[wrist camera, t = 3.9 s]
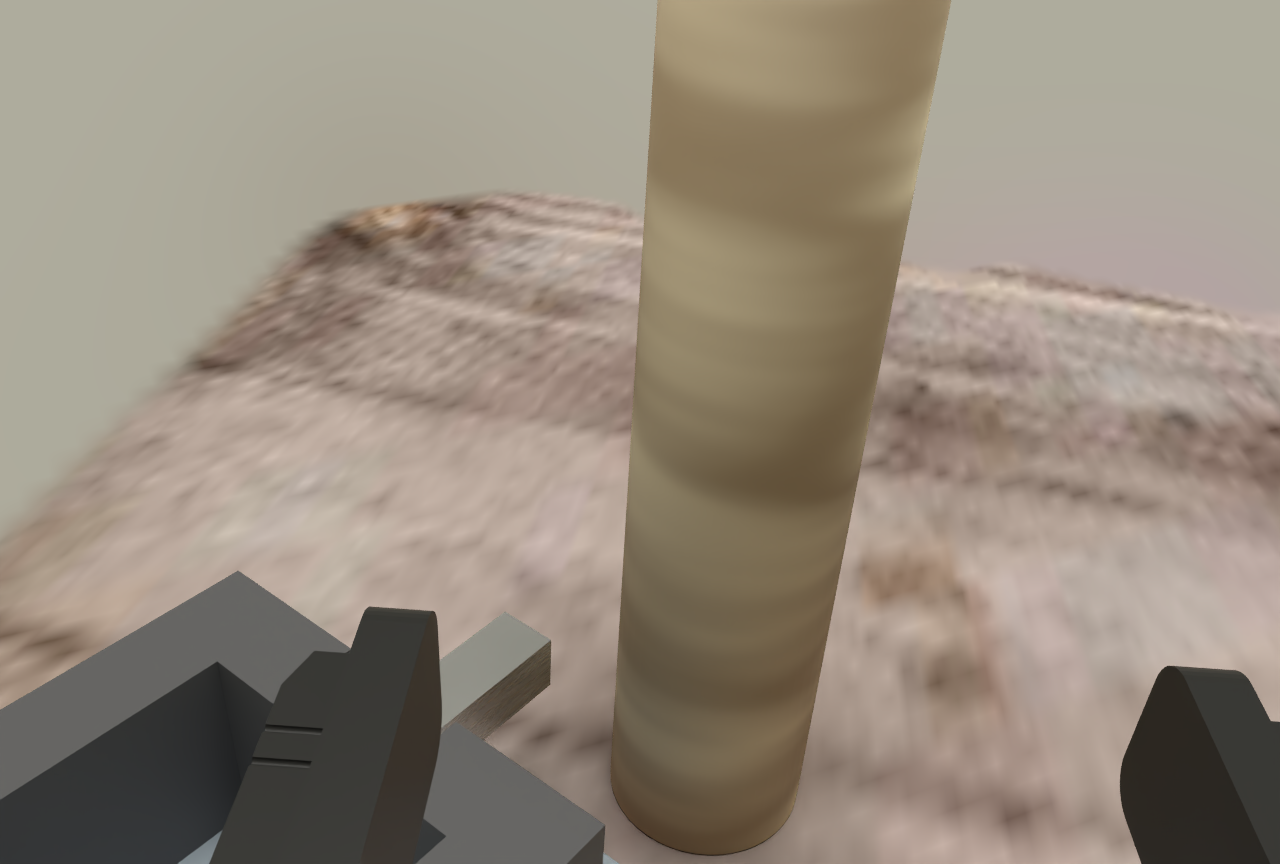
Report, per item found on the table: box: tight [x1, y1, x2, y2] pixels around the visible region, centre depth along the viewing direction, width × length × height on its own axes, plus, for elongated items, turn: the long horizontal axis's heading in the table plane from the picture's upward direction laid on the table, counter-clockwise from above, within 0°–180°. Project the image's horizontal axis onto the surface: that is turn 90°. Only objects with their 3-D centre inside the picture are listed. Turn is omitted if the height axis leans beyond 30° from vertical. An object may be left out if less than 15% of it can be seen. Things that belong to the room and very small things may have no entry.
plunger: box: [440, 612, 551, 740], centre depth 21 cm, size 6×2×2 cm, turn 142°
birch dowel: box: [610, 0, 951, 855], centre depth 20 cm, size 4×4×18 cm
